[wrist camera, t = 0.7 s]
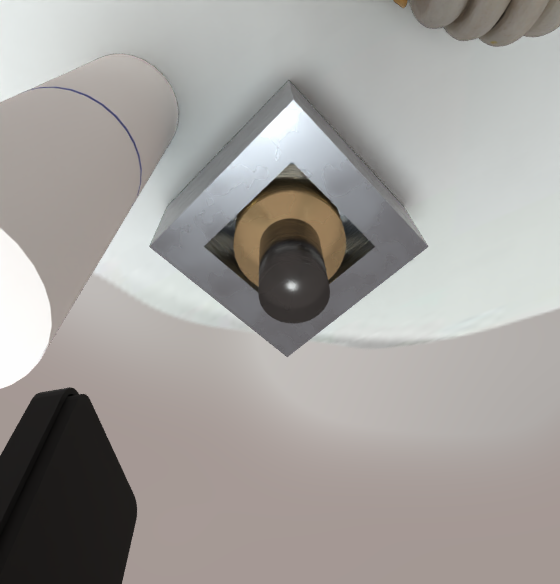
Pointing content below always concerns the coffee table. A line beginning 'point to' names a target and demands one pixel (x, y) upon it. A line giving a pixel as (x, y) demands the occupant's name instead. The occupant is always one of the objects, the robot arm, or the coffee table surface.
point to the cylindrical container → (70, 189)
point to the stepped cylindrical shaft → (290, 246)
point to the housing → (251, 181)
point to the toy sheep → (488, 18)
